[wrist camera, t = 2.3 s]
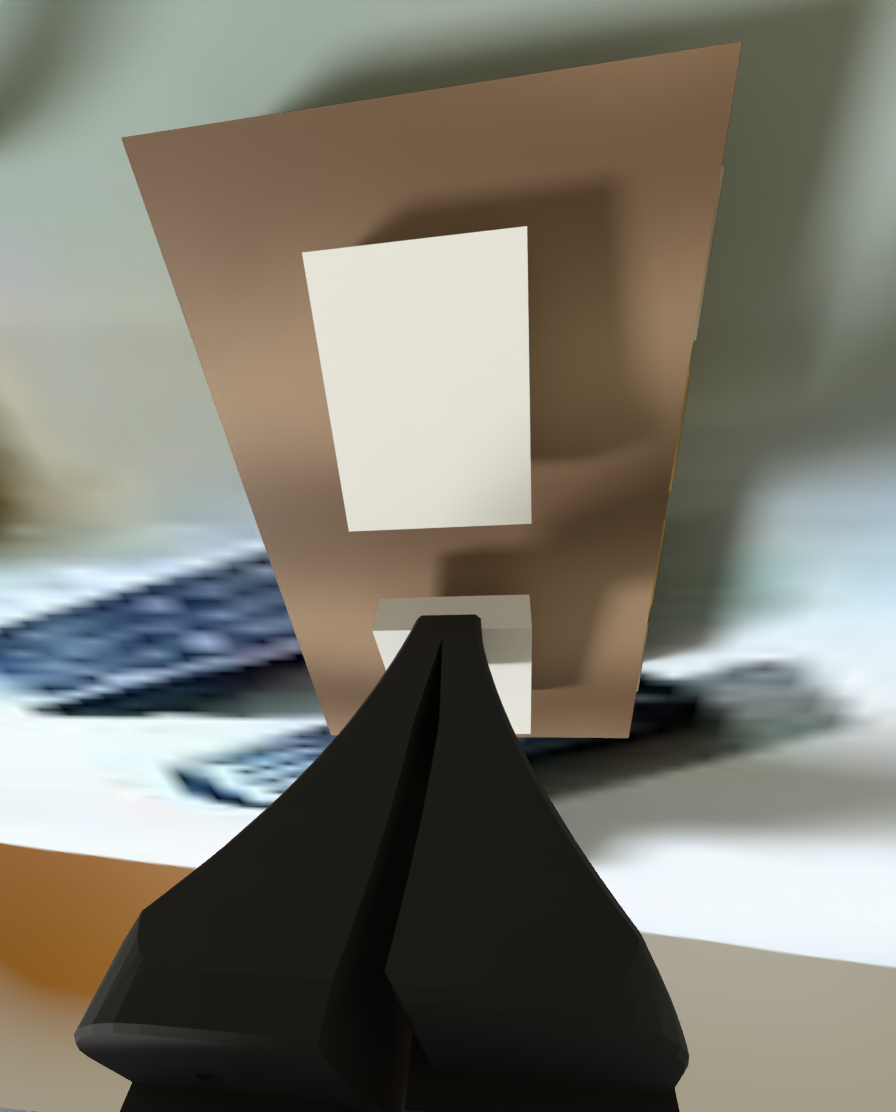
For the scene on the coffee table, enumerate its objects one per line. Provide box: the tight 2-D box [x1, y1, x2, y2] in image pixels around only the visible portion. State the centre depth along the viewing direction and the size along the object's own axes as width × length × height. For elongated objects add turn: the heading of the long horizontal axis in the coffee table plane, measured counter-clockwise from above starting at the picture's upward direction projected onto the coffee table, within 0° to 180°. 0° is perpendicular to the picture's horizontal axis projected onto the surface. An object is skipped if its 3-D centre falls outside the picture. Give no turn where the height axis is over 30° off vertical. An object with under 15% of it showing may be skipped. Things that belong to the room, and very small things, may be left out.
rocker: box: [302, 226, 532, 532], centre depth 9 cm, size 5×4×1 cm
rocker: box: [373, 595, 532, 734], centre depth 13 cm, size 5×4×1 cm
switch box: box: [122, 41, 742, 738], centre depth 13 cm, size 16×10×4 cm, turn 6°
